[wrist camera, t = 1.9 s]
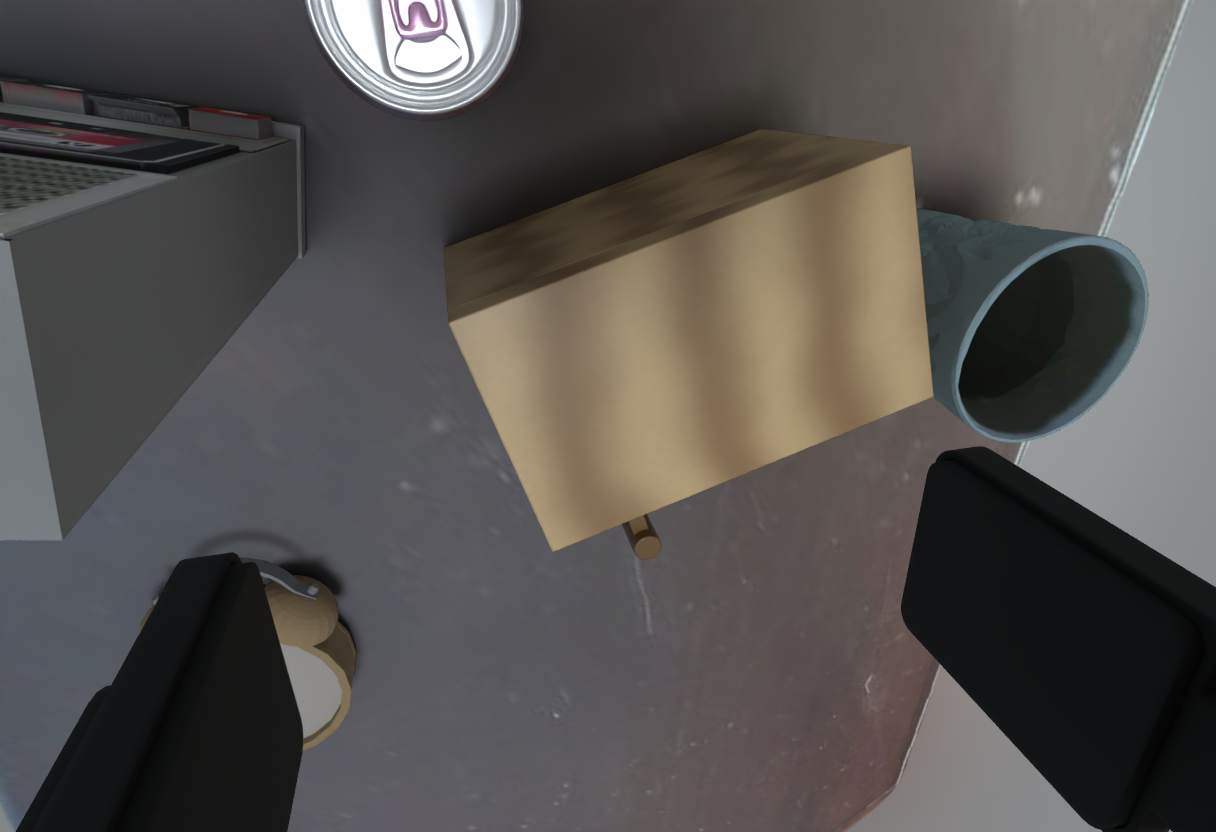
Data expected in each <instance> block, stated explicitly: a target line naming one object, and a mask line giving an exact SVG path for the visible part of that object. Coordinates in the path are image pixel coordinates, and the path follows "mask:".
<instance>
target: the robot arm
mask: <svg viewBox="0 0 1216 832" xmlns="http://www.w3.org/2000/svg"><path fill="white" fill-rule="evenodd" d="M901 613H902V617H903V620H904V622H905V624H906V626H907V628H908V629H909V630H910V632H911V633H912V634H913V635H914V636H915V637H916V638H917V639H918V640H919V641H920V642H921V644H922V645H923V646H924V647H925V648H926V649H927V650H928V651H929V652H930V653H931V654H932V656H933V657H934V658H935V659H936V660H937V661H938V662H939V663H940V664H941V665H942V666H943V668H944V669H946V671H947V672H948V673H949V674H950V675H951V676H952V677H953V678H954V679H955V681H956V682H957V683H958V684H959V685H960V686H961V687H962V688H963V689H964V690H965V691H966V693H967V694H968V695H969V696H970V697H971V698H972V699H973V700H974V701H975V702H976V703H977V704H978V706H979V707H980V708H981V709H982V710H983V711H984V712H985V713H986V714H987V715H988V717H989V718H990V719H991V720H992V721H993V722H994V723H995V724H996V725H997V726H998V727H999V729H1000V730H1001V731H1002V732H1003V733H1004V734H1005V735H1006V736H1007V737H1008V738H1009V739H1010V740H1011V741H1012V743H1013V744H1014V745H1015V746H1016V747H1017V748H1018V749H1019V750H1020V751H1021V752H1022V754H1023V755H1024V756H1025V757H1026V758H1027V759H1028V760H1029V761H1030V762H1031V763H1032V764H1033V766H1034V767H1035V768H1036V769H1037V770H1038V771H1039V772H1040V773H1041V774H1042V775H1043V776H1044V777H1045V779H1046V780H1047V781H1048V782H1049V783H1050V784H1051V785H1052V786H1053V787H1054V788H1055V789H1056V791H1057V792H1058V793H1059V794H1060V795H1061V796H1062V797H1063V798H1064V799H1065V800H1066V801H1067V803H1068V804H1069V805H1070V806H1071V807H1072V808H1073V809H1074V810H1075V811H1076V812H1077V813H1078V814H1079V816H1080V817H1081V818H1082V819H1083V820H1085V821H1086V822H1087V823H1088V824H1089V825H1091V826H1093V827H1094V828H1097V829H1101V830H1102V831H1103V832H1168V831H1169V829H1170V830H1171V831H1173V832H1216V587H1214V586H1213V585H1211V584H1209V583H1208V582H1206V581H1204V580H1203V579H1201V578H1200V577H1198V576H1196V575H1195V574H1193V573H1191V572H1190V571H1188V570H1186V569H1185V568H1183V567H1182V566H1180V565H1178V564H1176V563H1175V562H1173V561H1172V560H1170V559H1168V558H1167V557H1165V556H1164V555H1162V554H1160V553H1159V552H1157V551H1155V550H1154V549H1152V548H1150V547H1149V546H1147V545H1146V544H1144V543H1142V542H1141V541H1139V540H1137V539H1136V538H1134V537H1132V536H1131V535H1129V534H1128V533H1126V532H1124V531H1123V530H1121V529H1119V528H1118V527H1116V526H1115V525H1113V524H1111V523H1110V522H1108V521H1106V520H1105V519H1103V518H1101V517H1100V516H1098V515H1096V514H1095V513H1093V512H1092V511H1090V510H1088V509H1087V508H1085V507H1083V506H1082V505H1080V504H1079V503H1077V502H1075V501H1074V500H1072V499H1070V498H1069V497H1067V496H1065V495H1064V494H1062V493H1061V492H1059V491H1057V490H1055V489H1054V488H1052V487H1051V486H1049V485H1047V484H1046V483H1044V482H1043V481H1040V480H1039V479H1038V478H1036V477H1034V476H1033V475H1031V474H1029V473H1028V472H1026V471H1025V470H1023V469H1021V468H1020V467H1018V466H1016V465H1015V464H1013V463H1012V462H1010V461H1008V460H1007V459H1005V458H1003V457H1002V456H1000V455H998V454H997V453H995V452H994V451H992V450H990V449H988V448H986V447H970V448H963V449H956V450H949V451H945V452H943V453H941V454H940V455H939V457H938V458H937V460H936V462H935V463H933V464H932V465H931V466H930V468H929V470H928V473H927V478H926V483H925V488H924V493H923V498H922V503H921V508H920V513H919V518H918V523H917V528H916V533H915V538H914V543H913V548H912V553H911V558H910V563H909V568H908V573H907V578H906V583H905V588H904V593H903V597H902V602H901ZM302 751H303V725H302V720H301V716H300V712H299V709H298V705H297V702H296V698H295V695H294V691H293V688H292V684H291V680H290V677H289V673H288V670H287V666H286V663H285V659H284V656H283V652H282V649H281V645H280V642H279V638H278V634H277V631H276V627H275V624H274V620H273V617H272V613H271V610H270V606H269V603H268V599H267V595H266V592H265V588H264V585H263V581H262V578H261V574H260V571H259V568H258V566H257V565H256V563H254V562H247V563H242V562H241V559H240V558H239V556H238V555H237V554H235V553H226V554H219V555H212V556H205V557H198V558H191V559H184V560H182V561H180V562H179V563H178V565H177V566H176V567H175V569H174V571H173V573H172V575H171V577H170V578H169V580H168V582H167V584H166V586H165V588H164V589H163V591H162V593H161V595H160V597H159V599H158V601H157V602H156V604H155V606H154V608H153V610H152V612H151V613H150V615H149V617H148V619H147V621H146V623H145V624H144V626H143V628H142V630H141V632H140V634H139V635H138V637H137V639H136V641H135V643H134V645H133V646H132V648H131V650H130V652H129V654H128V656H127V657H126V659H125V661H124V663H123V665H122V667H121V669H120V670H119V672H118V674H117V676H116V678H115V680H114V681H113V683H112V685H111V686H106V687H104V688H103V689H101V690H100V691H98V692H97V693H96V694H95V695H94V697H93V698H92V699H91V701H90V702H89V703H88V705H87V707H86V708H85V710H84V712H83V714H82V715H81V717H80V719H79V721H78V723H77V724H76V726H75V728H74V730H73V731H72V733H71V735H70V737H69V738H68V740H67V742H66V744H65V745H64V747H63V749H62V751H61V753H60V754H59V756H58V758H57V760H56V761H55V763H54V765H53V767H52V768H51V770H50V772H49V774H48V776H47V777H46V779H45V781H44V783H43V784H42V786H41V788H40V790H39V791H38V793H37V795H36V797H35V798H34V800H33V802H32V804H31V806H30V807H29V809H28V811H27V813H26V814H25V816H24V818H23V820H22V821H21V823H20V825H19V827H18V828H17V830H16V832H287V830H288V825H289V819H290V814H291V809H292V804H293V799H294V794H295V788H296V783H297V778H298V773H299V768H300V762H301V757H302Z"/></svg>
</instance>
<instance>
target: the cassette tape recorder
mask: <svg viewBox="0 0 1216 832" xmlns="http://www.w3.org/2000/svg"><path fill="white" fill-rule="evenodd" d="M305 254H306V229H305V148H304V126H301V125H295V124H288V123H282V122H275V121H271V117H267V116H261V115H255V114H248V113H242V112H235V111H229V110H222V109H216V108H210V107H200V108H199V107H198V106H192V105H185V104H179V103H172V102H166V101H160V100H153V99H147V98H140V97H134V96H127V95H121V94H115V95H111V93H104V92H98V91H91V90H85V89H78V88H72V87H65V86H59V85H53V84H46V83H40V82H29V81H28V79H24V78H17V77H11V76H5V75H0V540H63V539H64V538H65V537H66V536H67V534H68V533H69V532H70V531H71V530H72V528H73V527H74V526H75V525H76V523H77V522H78V521H79V520H80V519H81V517H82V516H83V515H84V514H85V513H86V511H87V510H88V509H89V508H90V507H91V505H92V504H93V503H94V502H95V501H96V499H97V498H98V497H99V496H100V495H101V493H102V492H103V491H104V490H105V488H106V487H107V486H108V485H109V484H110V482H111V481H112V480H113V479H114V478H115V476H116V475H117V474H118V473H119V472H120V470H121V469H122V468H123V467H124V466H125V464H126V463H127V462H128V461H129V459H130V458H131V457H132V456H133V455H134V453H135V452H136V451H137V450H138V449H139V447H140V446H141V445H142V444H143V443H144V441H145V440H146V439H147V438H148V437H149V435H150V434H151V433H152V432H153V431H154V429H155V428H156V427H157V426H158V424H159V423H160V422H161V421H162V420H163V418H164V417H165V416H166V415H167V414H168V412H169V411H170V410H171V409H172V408H173V406H174V405H175V404H176V403H177V402H178V400H179V399H180V398H181V397H182V395H183V394H184V393H185V392H186V391H187V389H188V388H189V387H190V386H191V385H192V383H193V382H194V381H195V380H196V379H197V377H198V376H199V375H200V374H201V373H202V371H203V370H204V369H205V368H206V367H207V365H208V364H209V363H210V362H211V360H212V359H213V358H214V357H215V356H216V354H217V353H218V352H219V351H220V350H221V348H222V347H223V346H224V345H225V344H226V342H227V341H228V340H229V339H230V338H231V336H232V335H233V334H234V333H235V332H236V330H237V329H238V328H239V327H240V325H241V324H242V323H243V322H244V321H245V319H246V318H247V317H248V316H249V315H250V313H251V312H252V311H253V310H254V309H255V307H256V306H257V305H258V304H259V303H260V301H261V300H262V299H263V298H264V296H265V295H266V294H267V293H268V292H269V290H270V289H271V288H272V287H273V286H274V284H275V283H276V282H277V281H278V280H279V278H280V277H281V276H282V275H283V274H284V272H285V271H286V270H287V269H288V268H289V266H290V265H291V264H292V263H293V261H294V260H295V259H296V258H303V257H304V255H305Z"/></svg>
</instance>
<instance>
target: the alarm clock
mask: <svg viewBox="0 0 1216 832" xmlns="http://www.w3.org/2000/svg"><path fill="white" fill-rule="evenodd" d="M240 559H241V562H242V563H247V562H254V563H256V565H257V566H258V568H259V571H260V574H261V576H263V577H266V578H270V579H272V580H274V581H272V582H271V583H270V584H268V585H267V586H266V587H264V588H265V592H266V595H267V599H268V603H269V606H270V610H271V613H272V617H273V620H274V624H275V627H276V631H277V634H278V638H279V642H280V645H281V649H282V652H283V656H284V659H285V663H286V666H287V670H288V673H289V677H290V680H291V684H292V688H293V691H294V695H295V698H296V702H297V705H298V709H299V712H300V716H301V720H302V725H303V751H304V750H306V749H309V748H311V747H313V746H315V745H317V744H319V743H320V742H322V741H323V740H324V739H325V738H327V737H328V736H330V735H331V734H332V733H333V732H334V731H335V730H336V729H338V727H339V726H340V724H341V723H342V721H343V719H344V718H345V716H346V714H347V713H348V711H349V708H350V699H351V691H352V685H351V683H352V676H353V674H354V666H355V657H356V650H355V647H354V644H353V642H352V639H351V636H350V633H349V632H348V631H347V630H346V629H345V628H344V627H343V625H342V624H341V623H340V622H339V621H338V603H337V601H336V599H335V597H334V595H333V593H332V592H331V591H330V590H329V589H328V587H327V586H325V585H324V584H322V583H321V582H319V581H318V580H315V579H313V578H310V577H306V576H300V575H295V576H292V575H291V574H290V573H289V572H287V571H286V570H285V569H283V568H281V567H279V566H277V565H275V564H273V563H270V562H267V561H264V560H258V559H251V558H240ZM159 597H160V595H156V596H155V597H154V598H153V599H152V602H153V606H152V607H151V608H150V610H149V611H148V612H147V614H146V615H145V617H144V619H143V620H142V623H141V626H140V629H139V634H140V632H141V630H142V628H143V626H144V624H145V623H146V621H147V619H148V617H149V615H150V613H151V612H152V610H153V608H154V606H155V604H156V602H157V601H158V599H159Z"/></svg>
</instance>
